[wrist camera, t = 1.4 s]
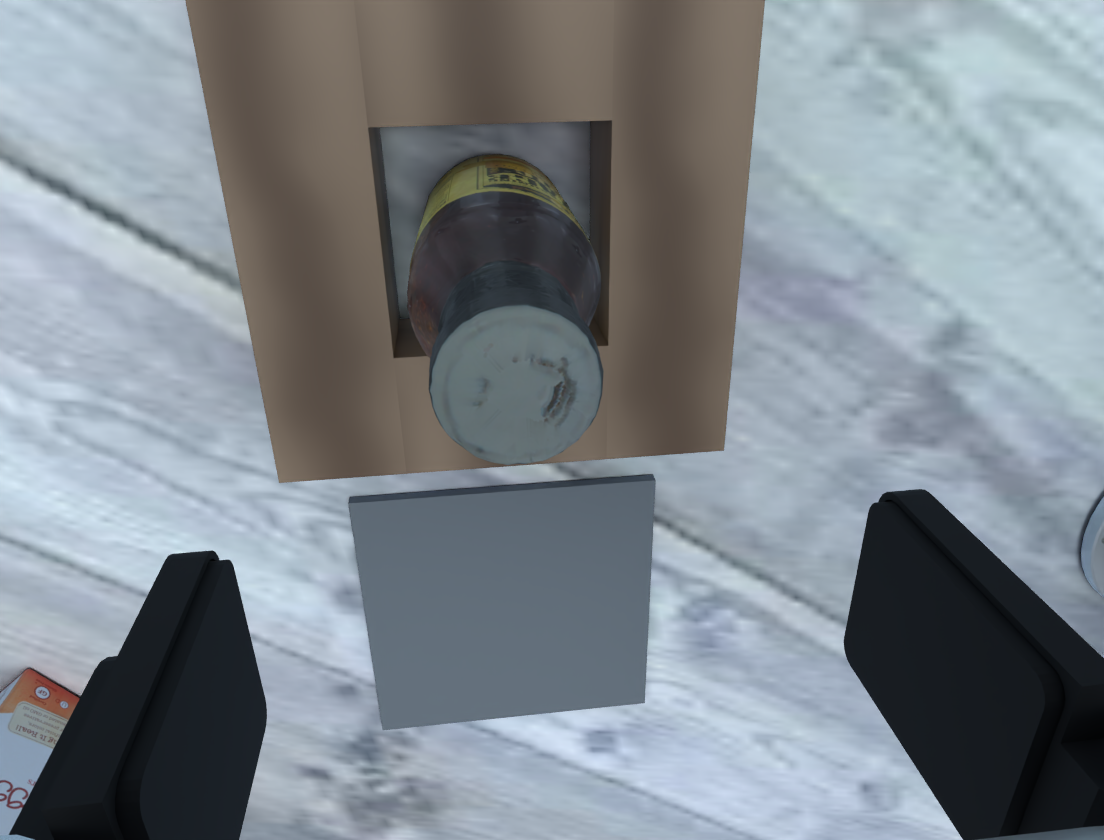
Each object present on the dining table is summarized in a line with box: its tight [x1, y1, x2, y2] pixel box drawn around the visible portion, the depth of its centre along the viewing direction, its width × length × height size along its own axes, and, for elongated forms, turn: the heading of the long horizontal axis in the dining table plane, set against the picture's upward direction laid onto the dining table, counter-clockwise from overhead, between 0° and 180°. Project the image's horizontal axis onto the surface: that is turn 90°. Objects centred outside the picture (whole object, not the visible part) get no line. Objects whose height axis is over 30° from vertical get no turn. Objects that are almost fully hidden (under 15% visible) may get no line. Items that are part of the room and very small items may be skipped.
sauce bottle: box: [407, 154, 604, 465], centre depth 27 cm, size 7×6×20 cm
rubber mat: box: [348, 475, 655, 730], centre depth 45 cm, size 16×16×1 cm
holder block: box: [186, 0, 765, 483], centre depth 34 cm, size 20×20×5 cm
